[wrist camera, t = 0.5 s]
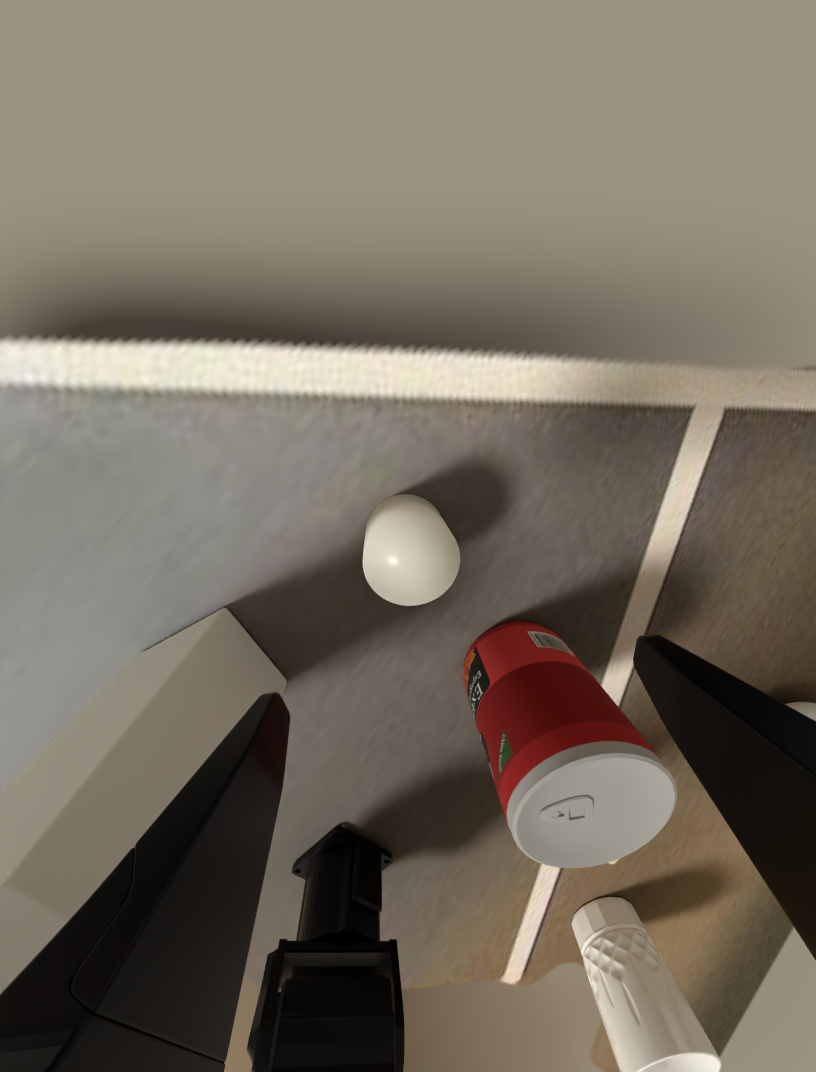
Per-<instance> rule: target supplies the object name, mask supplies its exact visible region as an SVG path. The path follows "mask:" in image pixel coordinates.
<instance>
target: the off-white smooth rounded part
mask: <svg viewBox="0 0 816 1072" xmlns="http://www.w3.org/2000/svg"><path fill="white" fill-rule="evenodd" d="M459 566H460V552H459V547H458V544H457V542H456V540H455V538H454V536H453V534H452V533H451V531H450V530H449V528H448V526H447V525H446V523H445V522H444V520H443V518H442V517H441V515H440V513H439V512H438V510H437V509H436V508H435V507H434V506H433V504H431V503H430V502H429V501H427V500H426V499H424V498H422V497H420V496H416V495H412V494H399V495H395V496H392V497H389V498H387V499H385V500H383V501H382V502H381V503H379V504H378V505H377V506H376V507H375V508H374V510H373V511H372V513H371V514H370V516H369V518H368V521H367V525H366V533H365V542H364V551H363V571H364V574H365V577H366V580H367V582H368V583H369V585H370V587H371V588H372V589H373V590H374V591H375V592H376V593H377V594H378V595H379V596H380V597H382V598H383V599H385V600H387V601H389V602H392V603H394V604H398V605H404V606H415V605H421V604H425V603H428V602H431V601H433V600H435V599H437V598H438V597H440V596H441V595H442V594H443V593H445V592H446V591H447V590H448V589H449V588H450V586H451V585H452V583H453V582H454V580H455V578H456V576H457V574H458V571H459Z"/></svg>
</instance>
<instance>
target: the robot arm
mask: <svg viewBox="0 0 816 1072" xmlns="http://www.w3.org/2000/svg"><path fill="white" fill-rule="evenodd" d="M633 662H634V666H635V669H636V671H637V673H638V675H639V677H640V679H641V681H642V683H643V685H644V687H645V688H646V690H647V692H648V694H649V696H650V698H651V700H652V702H653V704H654V706H655V708H656V710H657V712H658V714H659V716H660V718H661V719H662V721H663V723H664V725H665V727H666V729H667V730H668V732H669V734H670V735H671V737H672V739H673V740H674V742H675V743H676V745H677V746H678V748H679V750H680V751H681V753H682V754H683V756H684V757H685V759H686V760H687V762H688V763H689V765H690V767H691V768H692V770H693V771H694V773H695V774H696V776H697V777H698V779H699V781H700V782H701V784H702V785H703V787H704V788H705V790H706V791H707V793H708V794H709V796H710V798H711V799H712V801H713V802H714V804H715V805H716V807H717V808H718V810H719V811H720V813H721V815H722V816H723V818H724V819H725V821H726V822H727V824H728V825H729V827H730V828H731V830H732V832H733V833H734V835H735V836H736V838H737V839H738V841H739V842H740V844H741V846H742V847H743V849H744V850H745V852H746V853H747V855H748V856H749V858H750V859H751V861H752V863H753V864H754V866H755V867H756V869H757V870H758V872H759V873H760V875H761V876H762V878H763V880H764V881H765V883H766V884H767V886H768V887H769V889H770V890H771V892H772V893H773V895H774V897H775V898H776V900H777V901H778V903H779V904H780V906H781V907H782V909H783V911H784V912H785V914H786V915H787V917H788V918H789V920H790V921H791V923H792V924H793V926H794V928H795V929H796V931H797V932H798V934H799V935H800V937H801V938H802V940H803V941H804V943H805V945H806V946H807V948H808V949H809V951H810V952H811V954H812V955H813V957H814V958H815V960H816V721H815V720H813V719H811V718H809V717H807V716H806V715H804V714H802V713H800V712H798V711H797V710H795V709H793V708H791V707H789V706H787V705H786V704H784V703H782V702H780V701H778V700H777V699H775V698H773V697H771V696H769V695H768V694H766V693H764V692H762V691H760V690H758V689H757V688H755V687H753V686H751V685H749V684H748V683H746V682H744V681H742V680H740V679H738V678H737V677H735V676H733V675H731V674H729V673H728V672H726V671H724V670H722V669H720V668H719V667H717V666H715V665H713V664H711V663H709V662H708V661H706V660H704V659H702V658H700V657H699V656H697V655H695V654H693V653H691V652H689V651H688V650H686V649H684V648H682V647H680V646H679V645H677V644H675V643H673V642H671V641H670V640H668V639H666V638H664V637H662V636H660V635H658V634H649V635H643V636H639V637H638V639H637V642H636V647H635V652H634V658H633ZM289 725H290V714H289V711H288V709H287V707H286V705H285V703H284V701H283V699H282V697H281V695H280V694H279V693H278V692H272V693H265V694H262V695H261V696H260V697H259V698H258V699H257V700H256V701H255V702H254V703H253V705H252V706H251V707H250V708H249V709H248V711H247V712H246V713H245V714H244V715H243V717H242V718H241V719H240V720H239V721H238V722H237V724H236V725H235V726H234V727H233V728H232V730H231V731H230V732H229V733H228V734H227V736H226V737H225V738H224V739H223V740H222V742H221V743H220V744H219V745H218V746H217V747H216V749H215V750H214V751H213V752H212V753H211V755H210V756H209V757H208V758H207V759H206V761H205V762H204V763H203V764H202V765H201V766H200V768H199V769H198V770H197V771H196V772H195V774H194V775H193V776H192V777H191V778H190V780H189V781H188V782H187V783H186V784H185V785H184V787H183V788H182V789H181V790H180V791H179V793H178V794H177V795H176V796H175V797H174V799H173V800H172V801H171V802H170V803H169V804H168V806H167V807H166V808H165V809H164V810H163V812H162V813H161V814H160V815H159V816H158V818H157V819H156V820H155V821H154V822H153V823H152V825H151V826H150V827H149V828H148V829H147V831H146V832H145V833H144V834H143V835H142V837H141V838H140V839H139V840H138V841H137V842H136V844H135V848H131V849H130V851H129V852H128V853H127V854H126V855H125V857H124V858H123V859H122V860H121V861H120V863H119V864H118V865H117V866H116V867H115V868H114V870H113V871H112V872H111V873H110V874H109V875H108V877H107V878H106V879H105V880H104V881H103V882H102V883H101V885H100V886H99V887H98V888H97V889H96V890H95V892H94V893H93V894H92V895H91V896H90V897H89V898H88V900H87V901H86V902H85V903H84V904H83V905H82V906H81V907H80V908H79V910H78V911H77V912H76V913H75V914H74V915H73V916H72V917H71V918H70V919H69V920H68V922H67V923H66V924H65V925H64V926H63V927H62V928H61V929H60V930H59V931H58V933H57V934H56V935H55V936H54V937H53V938H52V939H51V940H50V941H49V942H48V943H47V944H46V945H45V947H44V948H43V949H42V950H41V951H40V952H39V953H38V954H37V955H36V956H35V957H34V958H33V959H32V960H31V962H30V963H29V964H28V965H27V966H26V967H25V968H24V969H23V970H22V971H21V972H20V973H19V974H18V975H17V976H16V978H15V979H14V980H13V981H12V982H11V983H10V984H9V985H8V986H7V987H6V988H5V989H4V990H3V991H2V993H1V994H0V1072H224V1068H225V1064H224V1062H225V1061H226V1057H227V1052H228V1048H229V1043H230V1038H231V1033H232V1029H233V1024H234V1018H235V1014H236V1009H237V1005H238V1000H239V994H240V990H241V985H242V980H243V976H244V971H245V966H246V961H247V957H248V952H249V947H250V942H251V937H252V932H253V928H254V923H255V918H256V913H257V908H258V904H259V899H260V894H261V889H262V884H263V880H264V875H265V870H266V865H267V860H268V855H269V851H270V846H271V841H272V836H273V831H274V827H275V822H276V817H277V812H278V807H279V803H280V798H281V792H282V787H283V780H284V772H285V763H286V753H287V744H288V735H289ZM391 863H392V854H391V853H389V852H387V851H385V850H383V849H381V848H380V847H378V846H376V845H374V844H372V843H370V842H368V841H367V840H365V839H363V838H361V837H359V836H357V835H356V834H354V833H352V832H350V831H348V830H346V829H344V828H342V827H337V828H335V829H334V830H333V831H332V832H330V833H329V834H328V835H327V836H326V837H325V838H323V839H322V840H321V841H320V842H319V843H318V844H316V845H315V846H314V847H313V848H312V849H311V850H309V851H308V852H307V853H306V854H305V855H304V856H302V857H301V858H300V859H299V860H298V861H297V862H295V863H294V864H293V868H292V873H293V874H295V875H297V876H299V877H301V878H303V879H305V880H306V881H305V887H304V894H303V900H302V907H301V913H300V919H299V926H298V932H297V939H296V941H287V939H280V941H279V946H278V949H276V950H275V951H273V952H272V953H270V954H268V957H267V961H266V966H265V971H264V976H263V981H262V986H261V990H260V995H259V999H258V1003H257V1007H256V1011H255V1016H254V1019H253V1024H252V1028H251V1032H250V1036H249V1041H248V1046H247V1051H248V1053H249V1056H250V1059H251V1061H252V1063H253V1065H252V1072H403V1065H404V1014H403V1001H402V991H401V981H400V970H399V960H398V950H397V940H396V939H389V941H380V912H381V911H382V871H383V870H384V869H385V868H386V867H388V866H389V865H390V864H391ZM280 988H281V992H280Z"/></svg>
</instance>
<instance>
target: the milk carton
mask: <svg viewBox="0 0 816 1072" xmlns="http://www.w3.org/2000/svg"><path fill="white" fill-rule="evenodd" d="M286 684H287V681H286V679H285V678H284V676H283V675H282V674H281V673H280V671H279V670H278V669H277V668H276V667H275V665H274V664H273V663H272V662H271V661H270V659H269V658H268V657H267V656H266V655H265V653H264V652H263V651H262V650H261V649H260V647H259V646H258V645H257V644H256V643H255V641H254V640H253V639H252V638H251V637H250V635H249V634H248V633H247V632H246V631H245V629H244V628H243V627H242V626H241V625H240V623H239V622H238V621H237V620H236V619H235V617H234V616H233V615H232V614H231V613H230V612H229V611H228V610H227V609H226V608H222V609H221V610H219V611H217V612H215V613H213V614H211V615H210V616H208V617H206V618H204V619H202V620H200V621H199V622H197V623H195V624H193V625H191V626H190V627H188V628H186V629H184V630H182V631H180V632H179V633H177V634H175V635H173V636H171V637H169V638H168V639H166V640H164V641H162V642H160V643H159V644H157V645H155V646H153V647H151V648H149V649H148V650H146V651H144V652H142V653H140V654H139V655H137V656H136V657H135V658H134V659H133V660H132V661H131V662H130V663H129V664H128V665H127V666H126V667H125V668H124V669H123V670H122V671H121V672H120V673H119V674H118V675H117V676H116V677H115V678H114V679H113V680H112V681H111V682H110V683H109V684H108V685H107V686H106V687H105V688H104V689H103V690H102V691H101V692H100V693H99V694H98V695H97V696H96V697H95V698H94V699H93V700H92V701H91V702H90V703H89V704H88V705H87V706H86V707H85V708H84V709H83V710H82V711H81V712H80V713H79V714H78V715H77V716H76V717H75V718H74V719H73V720H72V721H71V722H70V723H69V724H68V725H67V726H66V727H65V728H64V729H63V730H62V731H61V732H60V733H59V734H58V735H57V736H56V737H55V738H54V739H53V740H52V741H51V742H50V743H49V744H48V745H47V746H46V747H45V748H44V749H43V750H42V751H41V752H40V753H39V754H38V755H37V756H36V757H35V758H34V759H33V760H32V761H31V762H30V763H29V764H28V765H27V766H26V767H25V768H24V769H23V770H22V771H21V772H20V773H19V774H18V775H17V776H16V777H15V778H14V779H13V780H12V781H11V782H10V783H9V784H8V785H7V786H6V787H5V788H4V789H3V790H2V791H1V792H0V994H1V993H2V991H3V990H4V989H5V988H6V987H7V986H8V985H9V984H10V983H11V982H12V981H13V980H14V979H15V978H16V976H17V975H18V974H19V973H20V972H21V971H22V970H23V969H24V968H25V967H26V966H27V965H28V964H29V963H30V962H31V960H32V959H33V958H34V957H35V956H36V955H37V954H38V953H39V952H40V951H41V950H42V949H43V948H44V947H45V945H46V944H47V943H48V942H49V941H50V940H51V939H52V938H53V937H54V936H55V935H56V934H57V933H58V931H59V930H60V929H61V928H62V927H63V926H64V925H65V924H66V923H67V922H68V920H69V919H70V918H71V917H72V916H73V915H74V914H75V913H76V912H77V911H78V910H79V908H80V907H81V906H82V905H83V904H84V903H85V902H86V901H87V900H88V898H89V897H90V896H91V895H92V894H93V893H94V892H95V890H96V889H97V888H98V887H99V886H100V885H101V883H102V882H103V881H104V880H105V879H106V878H107V877H108V875H109V874H110V873H111V872H112V871H113V870H114V868H115V867H116V866H117V865H118V864H119V863H120V861H121V860H122V859H123V858H124V857H125V855H126V854H127V853H128V852H129V851H130V849H131V848H135V844H136V842H137V841H138V840H139V839H140V838H141V837H142V835H143V834H144V833H145V832H146V831H147V829H148V828H149V827H150V826H151V825H152V823H153V822H154V821H155V820H156V819H157V818H158V816H159V815H160V814H161V813H162V812H163V810H164V809H165V808H166V807H167V806H168V804H169V803H170V802H171V801H172V800H173V799H174V797H175V796H176V795H177V794H178V793H179V791H180V790H181V789H182V788H183V787H184V785H185V784H186V783H187V782H188V781H189V780H190V778H191V777H192V776H193V775H194V774H195V772H196V771H197V770H198V769H199V768H200V766H201V765H202V764H203V763H204V762H205V761H206V759H207V758H208V757H209V756H210V755H211V753H212V752H213V751H214V750H215V749H216V747H217V746H218V745H219V744H220V743H221V742H222V740H223V739H224V738H225V737H226V736H227V734H228V733H229V732H230V731H231V730H232V728H233V727H234V726H235V725H236V724H237V722H238V721H239V720H240V719H241V718H242V717H243V715H244V714H245V713H246V712H247V711H248V709H249V708H250V707H251V706H252V705H253V703H254V702H255V701H256V700H257V699H258V698H259V697H260V696H261V695H262V694H265V693H272V692H278V693H279V694H280V695H281V697H282V696H283V693H284V690H285V687H286Z"/></svg>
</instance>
